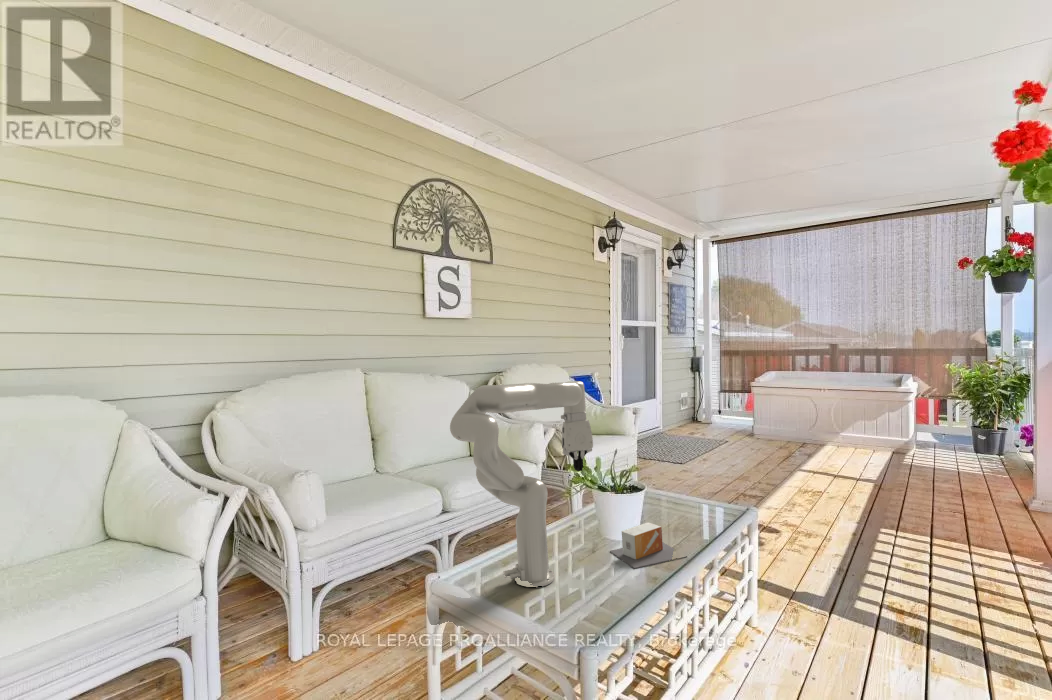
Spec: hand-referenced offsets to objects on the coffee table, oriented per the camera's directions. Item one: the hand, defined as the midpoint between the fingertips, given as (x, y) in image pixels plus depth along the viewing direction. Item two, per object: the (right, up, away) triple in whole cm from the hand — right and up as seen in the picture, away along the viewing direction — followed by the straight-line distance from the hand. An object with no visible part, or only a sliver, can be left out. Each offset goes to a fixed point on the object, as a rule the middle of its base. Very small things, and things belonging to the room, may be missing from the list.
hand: (578, 470), depth 176 cm
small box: (+16, -24, -6) cm, 29 cm away
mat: (+23, -28, -3) cm, 36 cm away
